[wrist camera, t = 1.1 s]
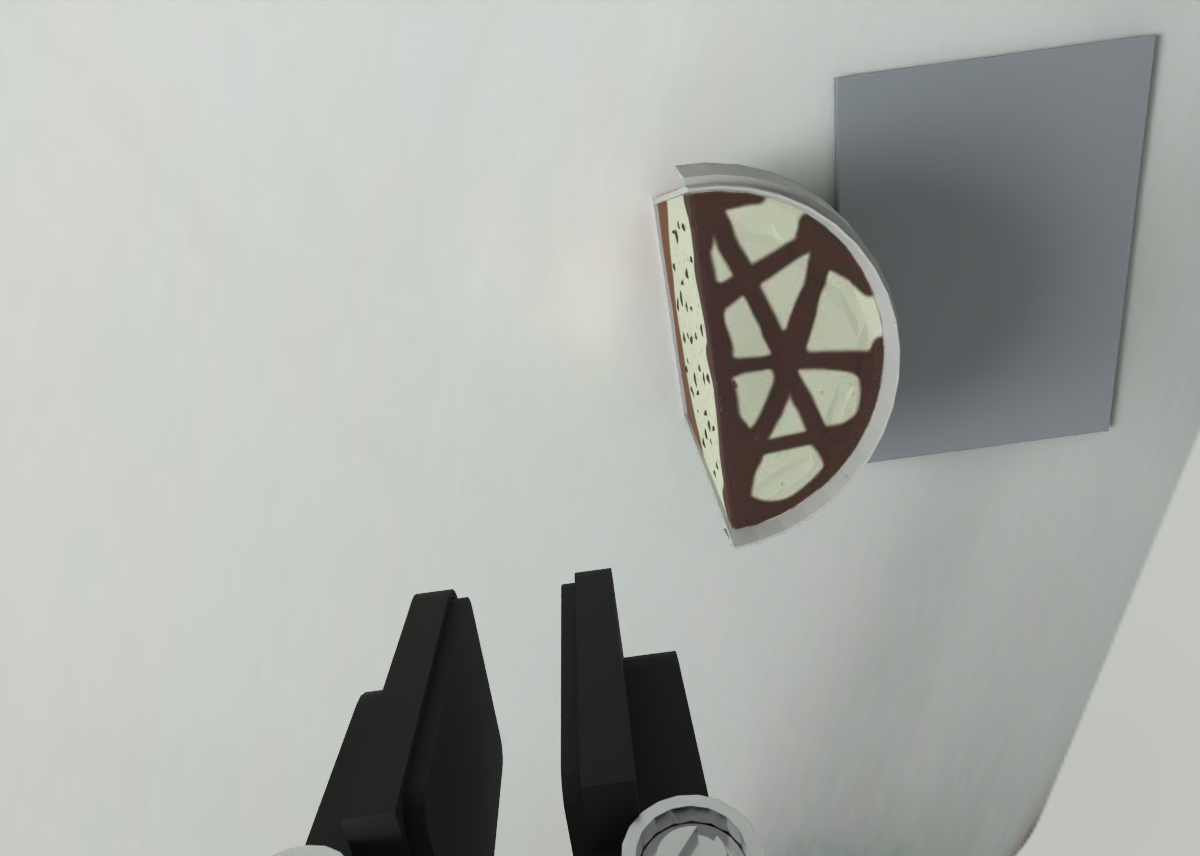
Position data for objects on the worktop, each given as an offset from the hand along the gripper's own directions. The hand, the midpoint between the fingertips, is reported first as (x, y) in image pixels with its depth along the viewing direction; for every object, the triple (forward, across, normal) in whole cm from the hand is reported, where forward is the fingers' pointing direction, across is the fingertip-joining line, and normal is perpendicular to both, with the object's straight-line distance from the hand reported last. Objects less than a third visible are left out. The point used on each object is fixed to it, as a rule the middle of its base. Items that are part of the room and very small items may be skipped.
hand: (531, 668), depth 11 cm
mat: (+22, -18, 0) cm, 29 cm away
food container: (+22, -8, 0) cm, 24 cm away
